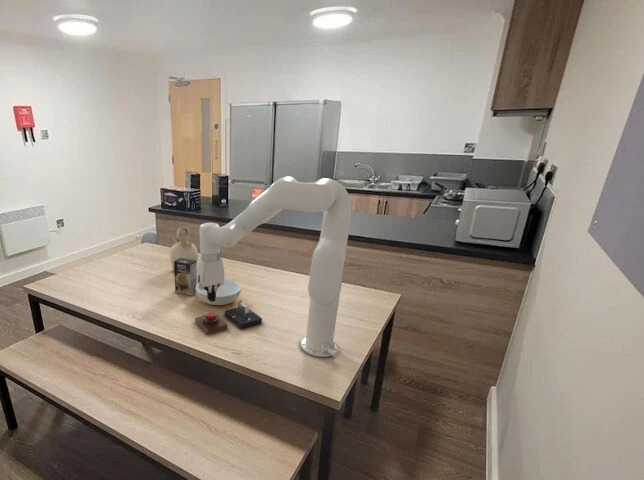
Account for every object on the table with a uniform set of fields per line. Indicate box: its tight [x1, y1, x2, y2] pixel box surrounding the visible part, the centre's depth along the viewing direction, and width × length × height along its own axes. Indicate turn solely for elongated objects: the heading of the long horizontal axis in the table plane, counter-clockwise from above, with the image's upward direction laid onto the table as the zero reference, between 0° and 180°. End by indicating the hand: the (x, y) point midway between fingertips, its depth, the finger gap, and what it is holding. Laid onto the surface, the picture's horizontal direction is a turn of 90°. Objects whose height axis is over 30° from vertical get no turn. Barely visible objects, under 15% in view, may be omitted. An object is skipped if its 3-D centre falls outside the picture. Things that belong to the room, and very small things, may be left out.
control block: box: [194, 313, 228, 335], centre depth 152 cm, size 11×9×4 cm
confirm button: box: [205, 311, 216, 320], centre depth 151 cm, size 4×4×2 cm
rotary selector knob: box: [236, 299, 250, 318], centre depth 155 cm, size 6×2×5 cm, turn 28°
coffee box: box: [173, 258, 198, 296], centre depth 180 cm, size 9×6×16 cm
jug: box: [169, 226, 199, 271], centre depth 204 cm, size 15×16×25 cm
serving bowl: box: [195, 278, 242, 306], centre depth 173 cm, size 21×21×7 cm
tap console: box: [224, 307, 263, 330], centre depth 157 cm, size 13×10×3 cm
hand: (211, 300), depth 148 cm, fingers closed
